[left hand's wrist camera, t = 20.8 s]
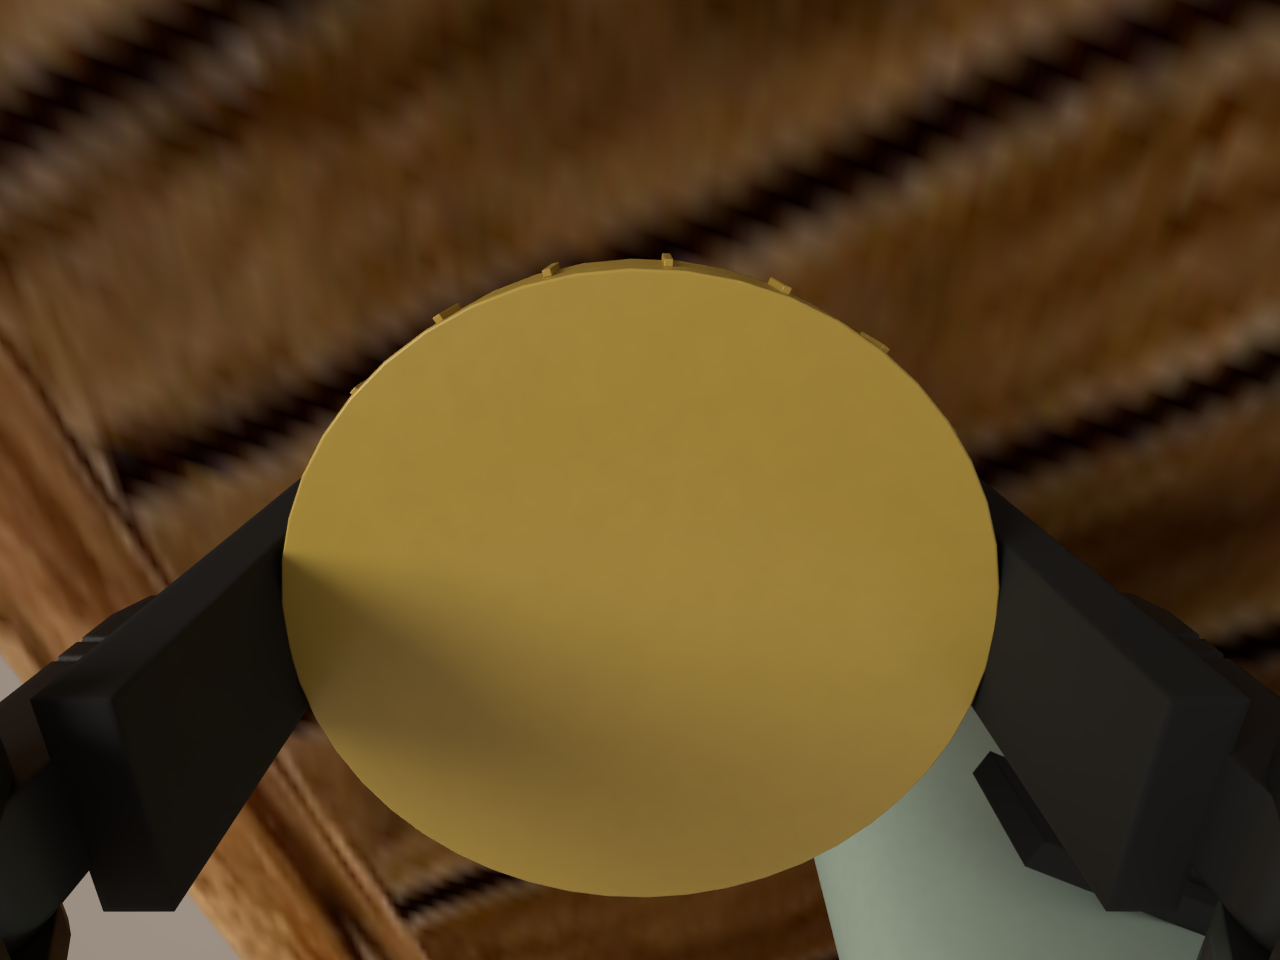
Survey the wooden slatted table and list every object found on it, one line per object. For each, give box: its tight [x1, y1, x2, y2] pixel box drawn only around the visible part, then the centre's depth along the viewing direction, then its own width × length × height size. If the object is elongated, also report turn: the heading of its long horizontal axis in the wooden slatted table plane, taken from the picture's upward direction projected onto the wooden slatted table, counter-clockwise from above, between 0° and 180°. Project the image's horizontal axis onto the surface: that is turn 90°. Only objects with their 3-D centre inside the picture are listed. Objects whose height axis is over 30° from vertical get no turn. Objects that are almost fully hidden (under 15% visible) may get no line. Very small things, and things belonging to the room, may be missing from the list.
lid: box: [282, 253, 999, 897], centre depth 11 cm, size 10×10×2 cm
